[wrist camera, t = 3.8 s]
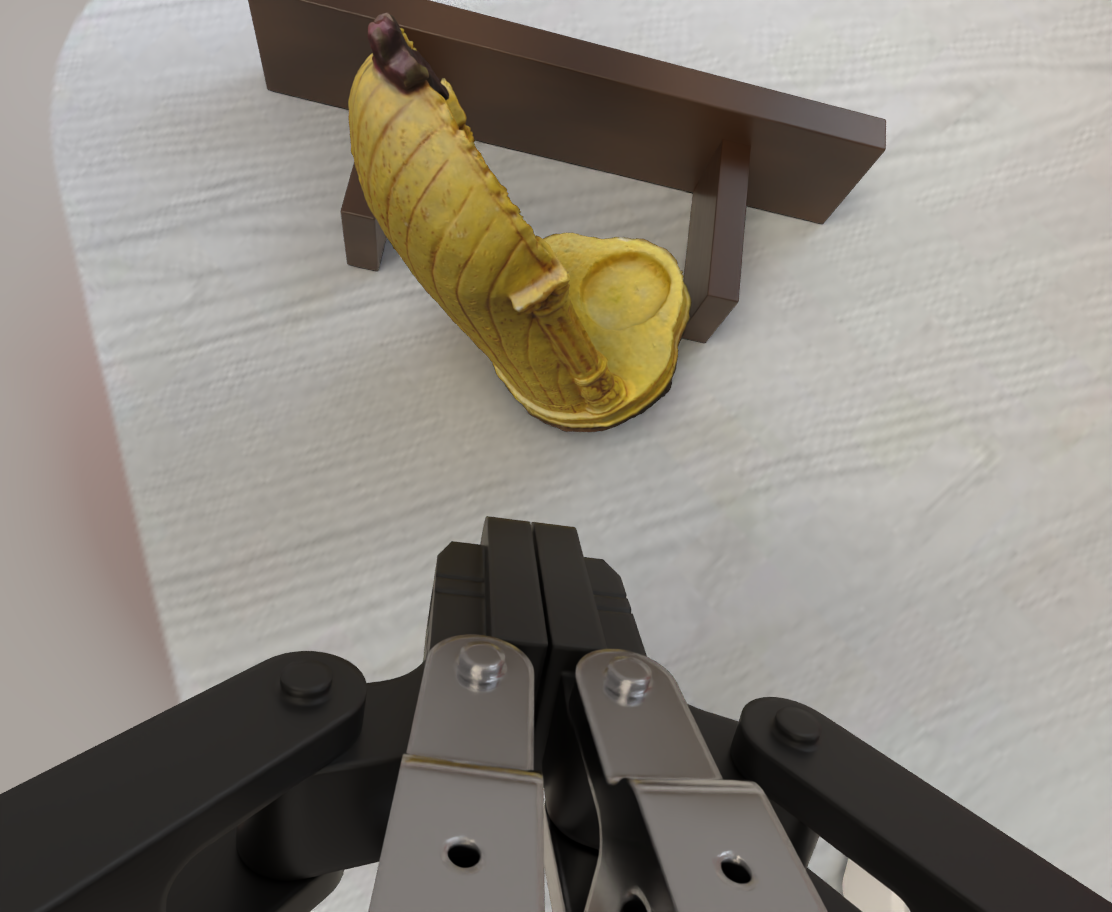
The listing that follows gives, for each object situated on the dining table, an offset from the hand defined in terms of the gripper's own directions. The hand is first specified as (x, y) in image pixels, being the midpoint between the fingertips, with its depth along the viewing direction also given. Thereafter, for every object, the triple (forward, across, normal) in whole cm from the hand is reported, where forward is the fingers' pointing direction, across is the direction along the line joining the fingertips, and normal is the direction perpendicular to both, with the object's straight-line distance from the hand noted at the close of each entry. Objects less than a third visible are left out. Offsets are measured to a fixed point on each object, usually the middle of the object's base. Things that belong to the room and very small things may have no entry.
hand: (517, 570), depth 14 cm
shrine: (+19, -1, +1) cm, 19 cm away
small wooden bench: (+22, -2, -4) cm, 23 cm away
